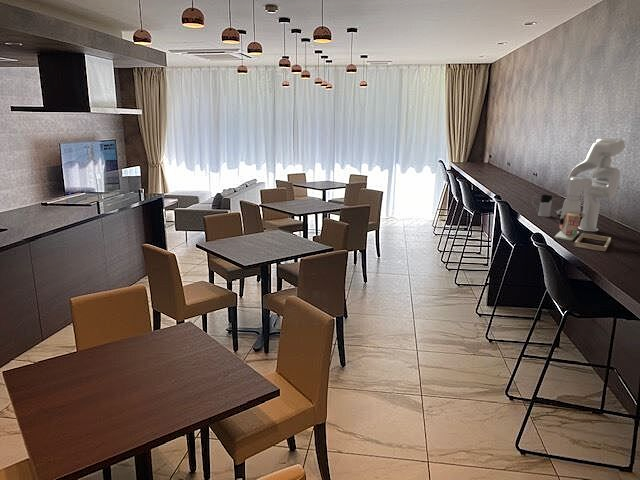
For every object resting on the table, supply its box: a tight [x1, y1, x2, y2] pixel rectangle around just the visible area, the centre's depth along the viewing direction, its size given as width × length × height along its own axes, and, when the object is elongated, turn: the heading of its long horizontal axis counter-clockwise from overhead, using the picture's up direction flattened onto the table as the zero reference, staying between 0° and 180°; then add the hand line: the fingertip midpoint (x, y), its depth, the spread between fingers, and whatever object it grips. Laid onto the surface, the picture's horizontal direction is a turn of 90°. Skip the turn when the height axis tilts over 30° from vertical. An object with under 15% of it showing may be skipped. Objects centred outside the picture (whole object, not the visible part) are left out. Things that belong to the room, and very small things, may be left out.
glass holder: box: [531, 194, 553, 218], centre depth 375 cm, size 9×14×15 cm, turn 57°
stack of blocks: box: [558, 212, 581, 236], centre depth 313 cm, size 21×6×12 cm, turn 166°
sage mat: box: [554, 229, 580, 241], centre depth 315 cm, size 26×10×1 cm, turn 145°
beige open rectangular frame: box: [573, 233, 612, 252], centre depth 296 cm, size 29×16×2 cm, turn 145°
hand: (568, 225), depth 313 cm, fingers closed on stack of blocks, 7 cm apart
